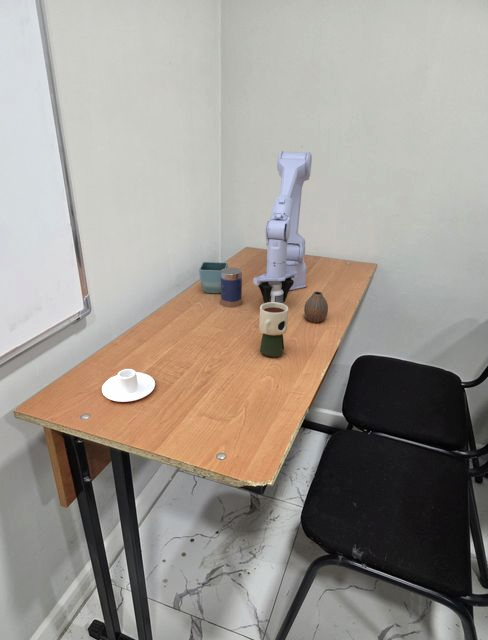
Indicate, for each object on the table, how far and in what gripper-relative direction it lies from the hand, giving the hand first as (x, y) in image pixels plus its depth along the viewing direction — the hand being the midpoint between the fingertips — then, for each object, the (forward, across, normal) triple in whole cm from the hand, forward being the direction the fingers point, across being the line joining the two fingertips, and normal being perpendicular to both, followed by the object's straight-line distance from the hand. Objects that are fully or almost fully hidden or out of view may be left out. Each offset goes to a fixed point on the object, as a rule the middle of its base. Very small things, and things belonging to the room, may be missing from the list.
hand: (274, 302), depth 139 cm
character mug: (+3, -15, -23) cm, 28 cm away
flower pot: (+3, -10, +23) cm, 25 cm away
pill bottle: (+3, 0, 0) cm, 3 cm away
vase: (+3, +7, -12) cm, 14 cm away
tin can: (+2, -10, +11) cm, 15 cm away
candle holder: (+3, -53, -22) cm, 57 cm away
